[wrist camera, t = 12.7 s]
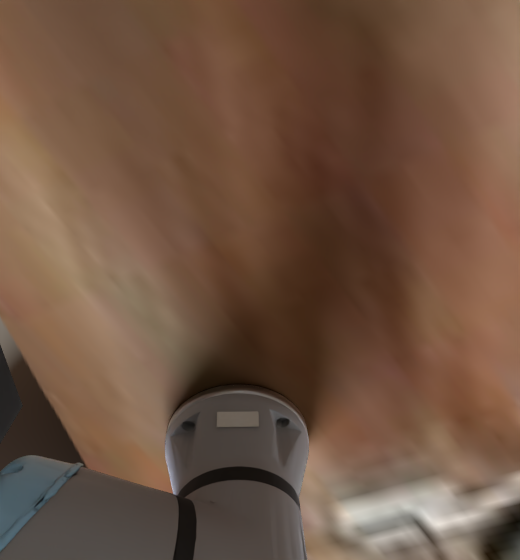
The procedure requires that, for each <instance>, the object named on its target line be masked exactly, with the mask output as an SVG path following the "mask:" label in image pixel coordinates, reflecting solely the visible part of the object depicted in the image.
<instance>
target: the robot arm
mask: <svg viewBox="0 0 520 560" xmlns="http://www.w3.org/2000/svg"><path fill="white" fill-rule="evenodd" d="M21 407H22V403H21V401H20V397H19V395H18V392H17V389H16V387H15V384H14V381H13V378H12V376H11V373H10V370H9V367H8V365H7V362H6V359H5V357H4V354H3V351H2V348H1V346H0V443H1V441H2V440H3V438H4V436H5V435H6V433H7V431H8V430H9V428H10V426H11V424H12V423H13V421H14V419H15V418H16V416H17V414H18V413H19V411H20V409H21ZM308 453H309V438H308V432H307V426H306V423H305V420H304V418H303V416H302V414H301V413H300V411H299V410H298V409H297V407H296V406H295V405H294V404H293V403H292V402H290V401H289V400H288V399H286V398H285V397H283V396H282V395H280V394H278V393H276V392H274V391H271V390H269V389H266V388H262V387H258V386H252V385H225V386H219V387H215V388H211V389H208V390H205V391H203V392H200V393H198V394H196V395H194V396H193V397H191V398H190V399H188V400H187V401H186V402H184V403H183V404H182V405H181V406H180V407H179V408H178V409H177V410H176V412H175V413H174V415H173V416H172V418H171V420H170V422H169V425H168V429H167V434H166V440H165V457H166V462H167V467H168V471H169V476H170V480H171V485H172V489H173V494H171V493H168V492H164V491H161V490H157V489H154V488H150V487H147V486H143V485H140V484H136V483H133V482H130V481H127V480H123V479H120V478H117V477H113V476H110V475H107V474H104V473H100V472H97V471H94V470H91V469H87V468H84V467H83V465H84V464H81V463H76V464H71V463H66V462H62V461H58V460H53V459H49V458H45V457H41V456H35V455H29V456H24V457H21V458H18V459H16V460H14V461H12V462H11V463H10V464H9V465H7V466H6V467H5V468H4V469H3V470H2V471H1V472H0V560H307V554H306V547H305V539H304V532H303V525H302V517H301V511H300V503H299V495H300V490H301V486H302V482H303V477H304V473H305V468H306V464H307V459H308Z"/></svg>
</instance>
